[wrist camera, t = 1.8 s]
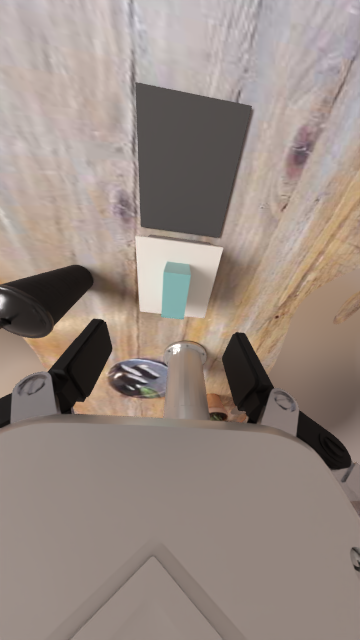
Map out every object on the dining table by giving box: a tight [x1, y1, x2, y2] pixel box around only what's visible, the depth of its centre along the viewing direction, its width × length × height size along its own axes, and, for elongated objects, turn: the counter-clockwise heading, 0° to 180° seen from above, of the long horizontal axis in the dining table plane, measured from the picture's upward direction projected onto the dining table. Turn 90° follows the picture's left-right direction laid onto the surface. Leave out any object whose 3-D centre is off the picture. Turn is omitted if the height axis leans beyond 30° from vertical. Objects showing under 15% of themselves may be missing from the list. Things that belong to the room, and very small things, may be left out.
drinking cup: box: [0, 265, 93, 338], centre depth 20 cm, size 8×8×20 cm
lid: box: [135, 235, 223, 319], centre depth 20 cm, size 11×11×6 cm
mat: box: [136, 83, 252, 237], centre depth 19 cm, size 13×13×1 cm
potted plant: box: [207, 394, 228, 421], centre depth 47 cm, size 10×10×25 cm
